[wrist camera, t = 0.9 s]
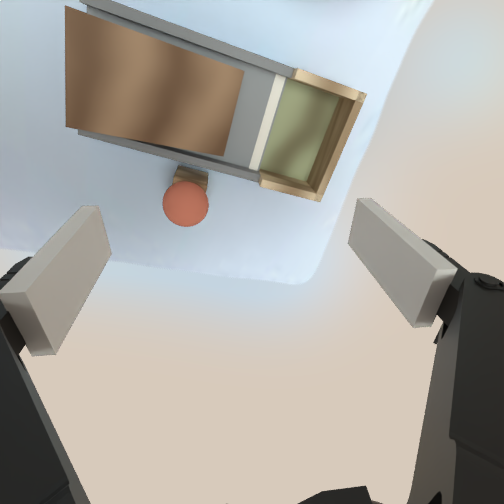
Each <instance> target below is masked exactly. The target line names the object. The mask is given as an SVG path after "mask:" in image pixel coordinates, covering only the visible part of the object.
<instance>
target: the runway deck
mask: <svg viewBox="0 0 504 504" xmlns="http://www.w3.org/2000/svg"><path fill="white" fill-rule="evenodd" d="M79 2H81V3H83V4H85V5H87V14H90V15H93V16H95V17H98V18H101V19H104V20H106V21H109V22H112V23H115V24H117V25H120V26H123V27H125V28H128V29H131V30H134V31H136V32H139V33H142V34H145V35H147V36H150V37H153V38H156V39H158V40H161V41H164V42H166V43H169V44H172V45H175V46H177V47H180V48H183V49H186V50H188V51H191V52H194V53H197V54H199V55H202V56H205V57H208V58H210V59H213V60H216V61H218V62H221V63H224V64H227V65H229V66H232V67H235V68H238V69H240V70H243V71H244V76H243V80H242V84H241V88H240V92H239V96H238V100H237V104H236V108H235V112H234V116H233V120H232V124H231V128H230V132H229V136H228V141H227V145H226V149H225V153H224V157H223V156H217V155H212V154H207V153H201V152H196V151H191V150H185V149H180V148H175V147H170V146H164V145H159V144H154V143H148V142H143V141H138V140H133V139H127V138H122V137H117V136H111V135H106V134H101V133H96V132H90V131H85V130H80V129H78V135H82V136H86V137H89V138H93V139H97V140H101V141H105V142H108V143H112V144H116V145H120V146H123V147H127V148H131V149H135V150H138V151H142V152H146V153H150V154H154V155H157V156H161V157H165V158H169V159H172V160H176V161H180V162H184V163H188V164H191V165H195V166H199V167H203V168H206V169H210V170H214V171H218V172H221V173H225V174H229V175H233V176H237V177H240V178H244V179H248V180H252V181H255V182H259V179H260V176H261V175H260V173H259V169H260V166H261V162H262V159H263V156H264V153H265V149H266V146H267V143H268V140H269V137H270V133H271V130H272V127H273V124H274V120H275V117H276V114H277V111H278V108H279V104H280V101H281V98H282V95H283V91H284V88H285V85H286V82H287V79H288V78H291V77H292V74H293V71H294V68H292V67H289V66H286V65H284V64H281V63H278V62H276V61H273V60H270V59H268V58H265V57H262V56H260V55H257V54H254V53H251V52H249V51H246V50H243V49H241V48H238V47H235V46H233V45H230V44H227V43H224V42H222V41H219V40H216V39H214V38H211V37H208V36H206V35H203V34H200V33H198V32H195V31H192V30H189V29H187V28H184V27H181V26H179V25H176V24H173V23H171V22H168V21H165V20H162V19H160V18H157V17H154V16H152V15H149V14H146V13H144V12H141V11H138V10H136V9H133V8H130V7H127V6H125V5H122V4H119V3H117V2H114V1H111V0H80V1H79Z"/></svg>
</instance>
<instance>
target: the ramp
mask: <svg viewBox="0 0 504 504" xmlns="http://www.w3.org/2000/svg"><path fill="white" fill-rule="evenodd" d="M243 76H244V71H243V70H240V69H238V68H235V67H232V66H229V65H227V64H224V63H221V62H218V61H216V60H213V59H210V58H208V57H205V56H202V55H199V54H197V53H194V52H191V51H188V50H186V49H183V48H180V47H177V46H175V45H172V44H169V43H166V42H164V41H161V40H158V39H156V38H153V37H150V36H147V35H145V34H142V33H139V32H136V31H134V30H131V29H128V28H125V27H123V26H120V25H117V24H115V23H112V22H109V21H106V20H104V19H101V18H98V17H95V16H93V15H90V14H87V13H84V12H82V11H79V10H76V9H74V8H71V7H68V6H65V89H66V127H69V128H74V129H80V130H85V131H90V132H96V133H101V134H106V135H111V136H117V137H122V138H127V139H133V140H138V141H143V142H148V143H154V144H159V145H164V146H170V147H175V148H180V149H185V150H191V151H196V152H201V153H207V154H212V155H217V156H223V157H224V153H225V149H226V145H227V141H228V136H229V132H230V128H231V124H232V120H233V116H234V112H235V108H236V104H237V100H238V96H239V92H240V88H241V84H242V80H243Z"/></svg>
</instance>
